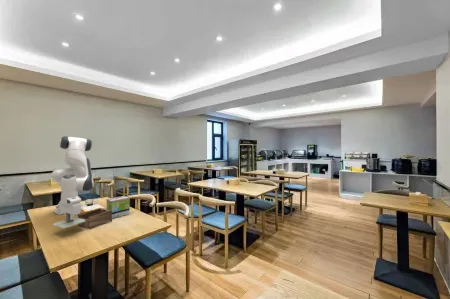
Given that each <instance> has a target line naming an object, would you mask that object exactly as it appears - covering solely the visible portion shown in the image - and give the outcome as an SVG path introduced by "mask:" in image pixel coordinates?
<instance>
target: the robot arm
mask: <svg viewBox="0 0 450 299" xmlns="http://www.w3.org/2000/svg"><path fill="white" fill-rule="evenodd" d="M58 144H59V145H58V146H59V147H60V148H61V149H62V150H65V154H64V160H63V161H64V163H65V164H66V165H67V166H69V167H67V168H59V169H54V170H53V171H52V172H51V175H50V176H51V179H52V181H54V182H55V183H57V184H58V185H59V186H60V190H61V193H60V200H59V202H58V204H57V205H56V206H55V208H56V209H54V210H53V213H55V214H57V215H65V216H66V215H67V214H70V217H69V219H70V220H72V219H74V217H75V215H78V214H81V213H82V209H81V207H82V204H81V202H82V198H81V197H80V196H79V192H88V191H90V190H92V189H93V188H94V186H95V182H94V179H93V173H92V166H91V161H90V159H89V158H88V157H86V152H89V151H90V150H92V148H93V141H92V139H88V138H83V137H77V136H62V137H61V138H60V139H59V141H58Z"/></svg>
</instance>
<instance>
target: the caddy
mask: <svg viewBox="0 0 450 299" xmlns="http://www.w3.org/2000/svg"><path fill="white" fill-rule="evenodd" d="M77 218H80V219H84V220H86V221H85V222H82V223H79V224H77V226H79V227H83V228H86V229H89V230H91V229H94V228H97V227H100V226H103V225H105V224H108V223H110V222H112V221H113V219H112V211H111V210H106V208H100V207H99V208H95V209H92V210H87V211H85V212H80V213H79V214H77Z"/></svg>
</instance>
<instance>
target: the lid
mask: <svg viewBox="0 0 450 299" xmlns="http://www.w3.org/2000/svg"><path fill="white" fill-rule="evenodd" d="M69 217H70V214H67V215H65V220H61V221H58V222H55V223H53V224H52V225H53V226H54V227H57V228H61V229H66V228H70V227H73V226H76V225H78V224H79V223H82V222H85V221H86V220H84V219H80V218H78V216H74V219H72V220H70V219H69Z"/></svg>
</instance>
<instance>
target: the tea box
mask: <svg viewBox="0 0 450 299" xmlns="http://www.w3.org/2000/svg"><path fill="white" fill-rule="evenodd" d="M130 202H131V200H130V197H128V196H126V195H122V196H117V197H111V198H107V199H106V208H105V209H106V210H111V211H112V220H113V219H115V218H116V219H117V218H119V217H123V216H127V215H130V212H131V210H130V207H131V205H130Z"/></svg>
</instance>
